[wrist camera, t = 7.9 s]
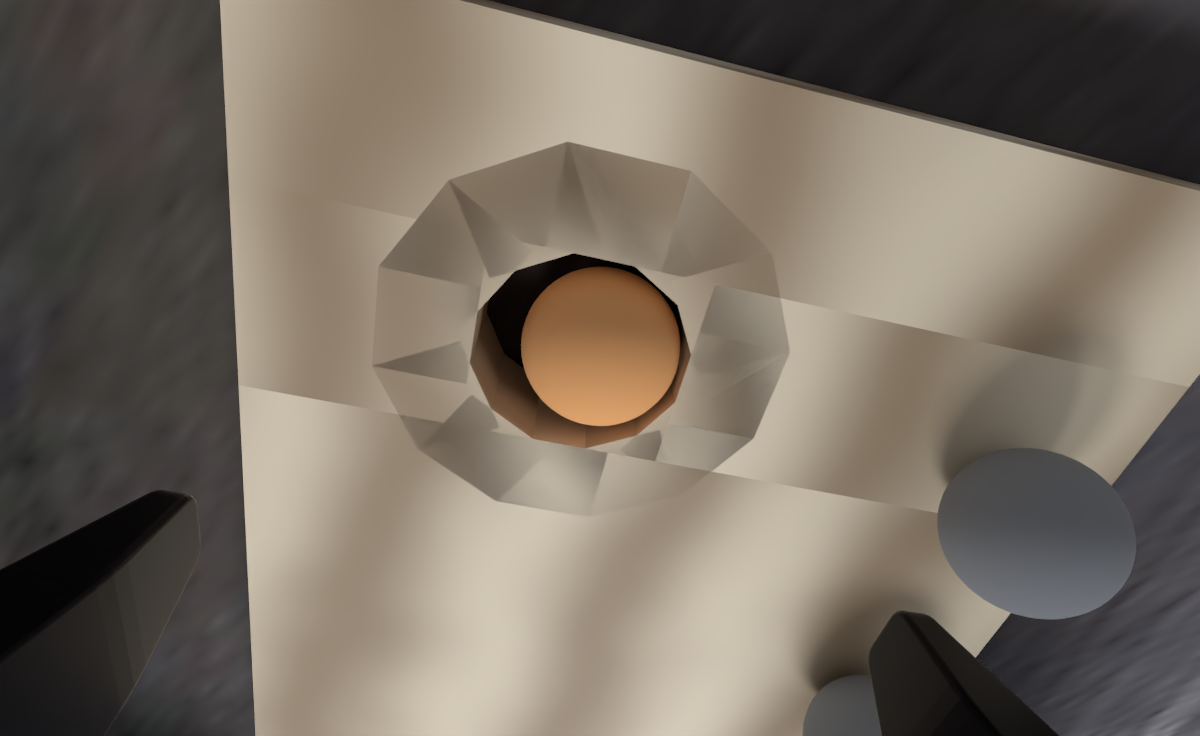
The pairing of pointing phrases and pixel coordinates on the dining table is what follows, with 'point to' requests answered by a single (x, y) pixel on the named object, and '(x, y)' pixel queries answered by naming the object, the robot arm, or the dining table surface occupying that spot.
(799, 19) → the dining table surface
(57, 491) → the dining table surface
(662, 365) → the ball
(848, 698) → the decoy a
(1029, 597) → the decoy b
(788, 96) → the board
